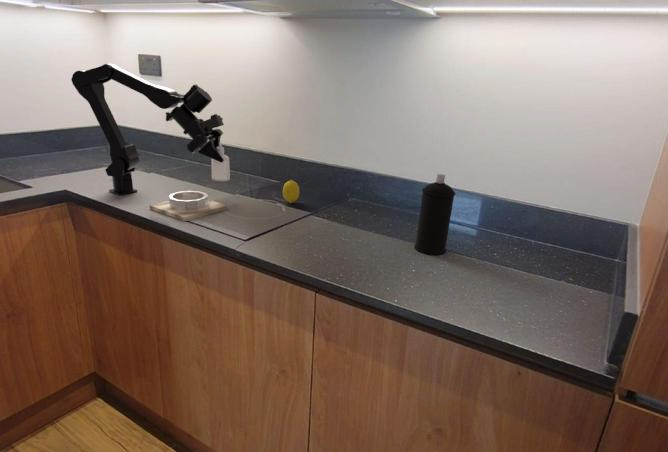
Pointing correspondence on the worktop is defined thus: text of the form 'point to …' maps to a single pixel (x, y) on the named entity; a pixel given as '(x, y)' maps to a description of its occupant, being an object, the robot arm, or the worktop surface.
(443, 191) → the aerosol can
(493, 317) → the worktop surface
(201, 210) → the base plate
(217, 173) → the eye dropper bottle
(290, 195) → the lemon
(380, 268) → the worktop surface
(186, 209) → the collar
